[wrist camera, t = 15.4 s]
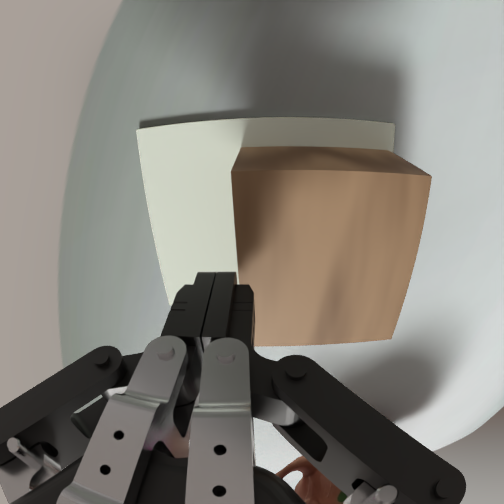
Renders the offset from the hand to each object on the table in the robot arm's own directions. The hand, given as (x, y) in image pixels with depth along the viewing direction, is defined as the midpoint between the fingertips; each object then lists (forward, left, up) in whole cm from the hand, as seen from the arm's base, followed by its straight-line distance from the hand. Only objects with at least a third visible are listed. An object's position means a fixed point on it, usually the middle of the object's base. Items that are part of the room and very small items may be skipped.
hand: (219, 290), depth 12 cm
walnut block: (-1, 0, -4) cm, 4 cm away
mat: (-2, 0, -6) cm, 7 cm away
